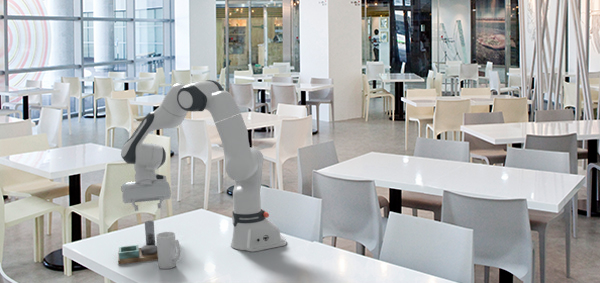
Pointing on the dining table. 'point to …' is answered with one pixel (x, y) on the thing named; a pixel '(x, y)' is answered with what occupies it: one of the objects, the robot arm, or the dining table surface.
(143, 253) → the nut block
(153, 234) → the pin
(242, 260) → the dining table surface
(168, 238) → the mug
